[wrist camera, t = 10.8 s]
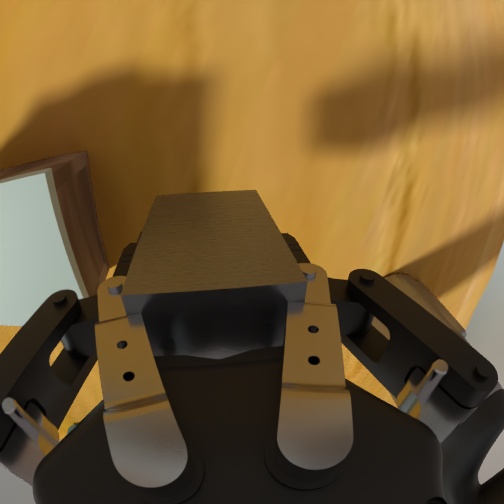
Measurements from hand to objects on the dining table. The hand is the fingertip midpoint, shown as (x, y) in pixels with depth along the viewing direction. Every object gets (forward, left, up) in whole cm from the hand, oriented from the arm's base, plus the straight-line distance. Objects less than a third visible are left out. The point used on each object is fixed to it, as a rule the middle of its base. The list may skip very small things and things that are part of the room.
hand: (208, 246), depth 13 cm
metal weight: (0, 0, -1) cm, 1 cm away
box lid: (+14, +1, -3) cm, 15 cm away
